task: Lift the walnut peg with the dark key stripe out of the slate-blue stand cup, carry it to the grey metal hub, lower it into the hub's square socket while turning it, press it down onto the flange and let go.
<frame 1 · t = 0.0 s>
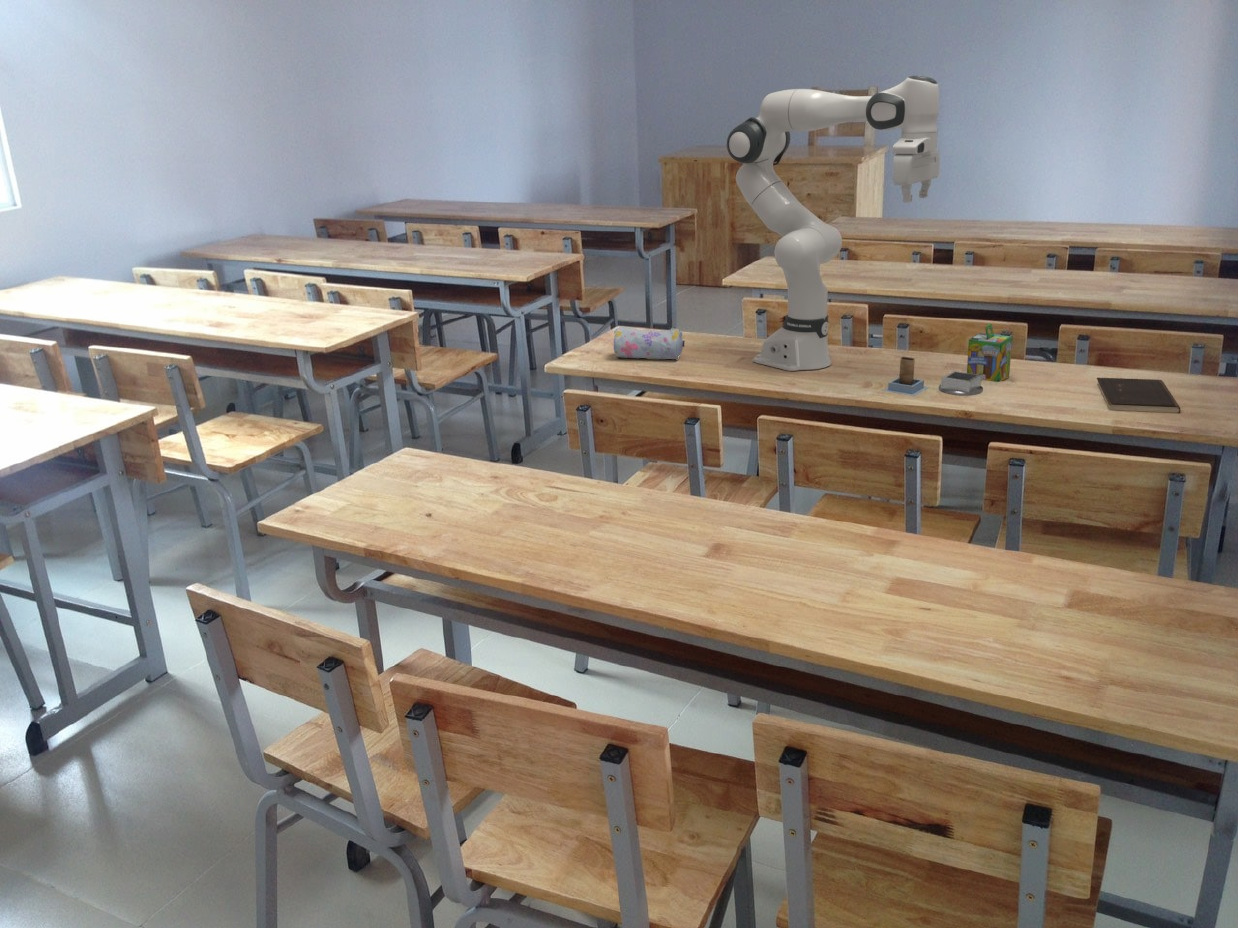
hand: (915, 200, 278), 48 cm above the table, tool pointing down, fingers open, 8 cm apart
stand: (905, 392, 284), on the table
hub: (960, 392, 282), on the table
chalk box: (987, 379, 293), on the table
hardcover book: (1135, 400, 273), on the table
peg: (905, 388, 283), point 1 cm above the table, touching stand
pencil case: (648, 359, 325), on the table
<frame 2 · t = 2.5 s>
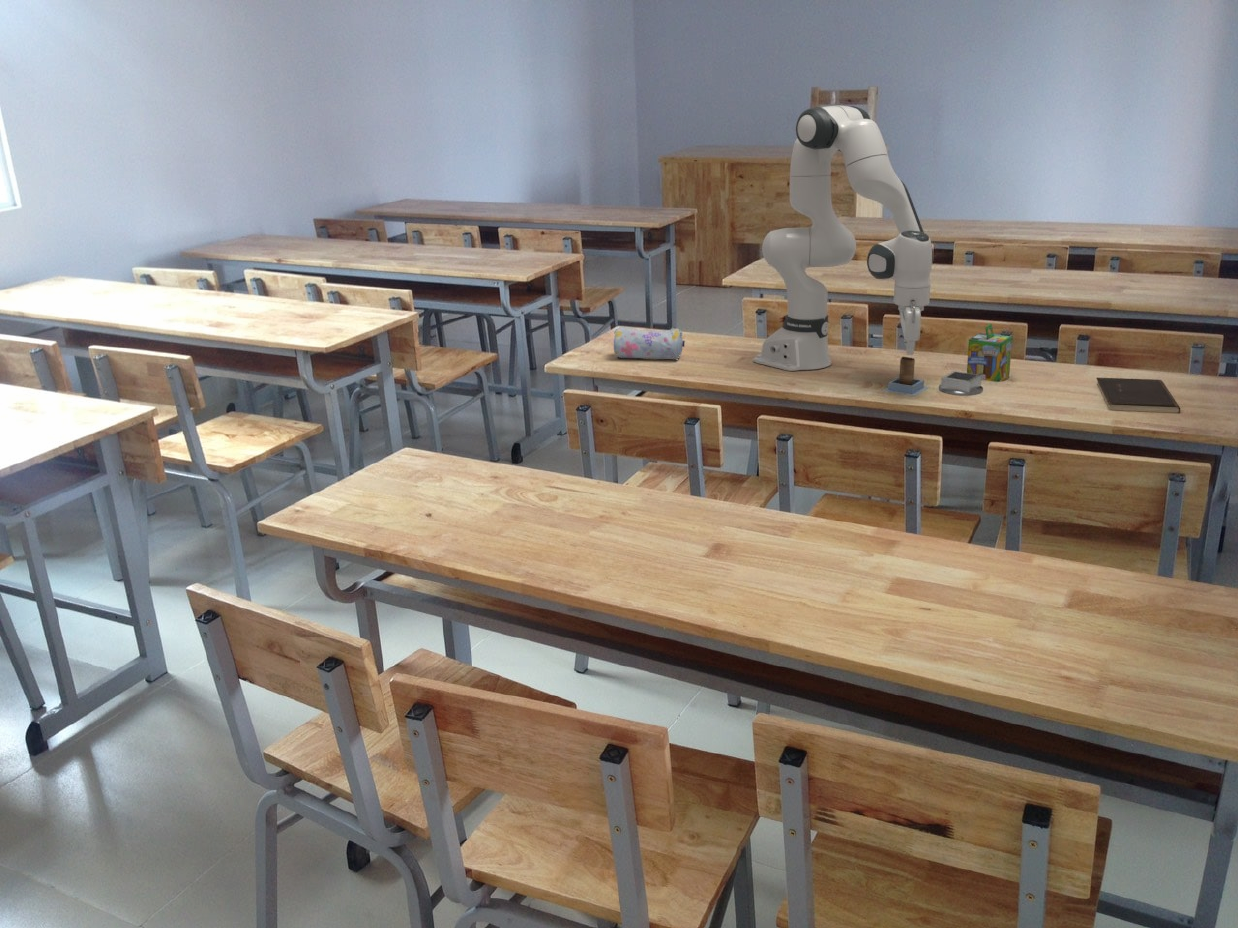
hand: (908, 349, 280), 12 cm above the table, tool pointing down, fingers open, 8 cm apart
nothing on the table moved.
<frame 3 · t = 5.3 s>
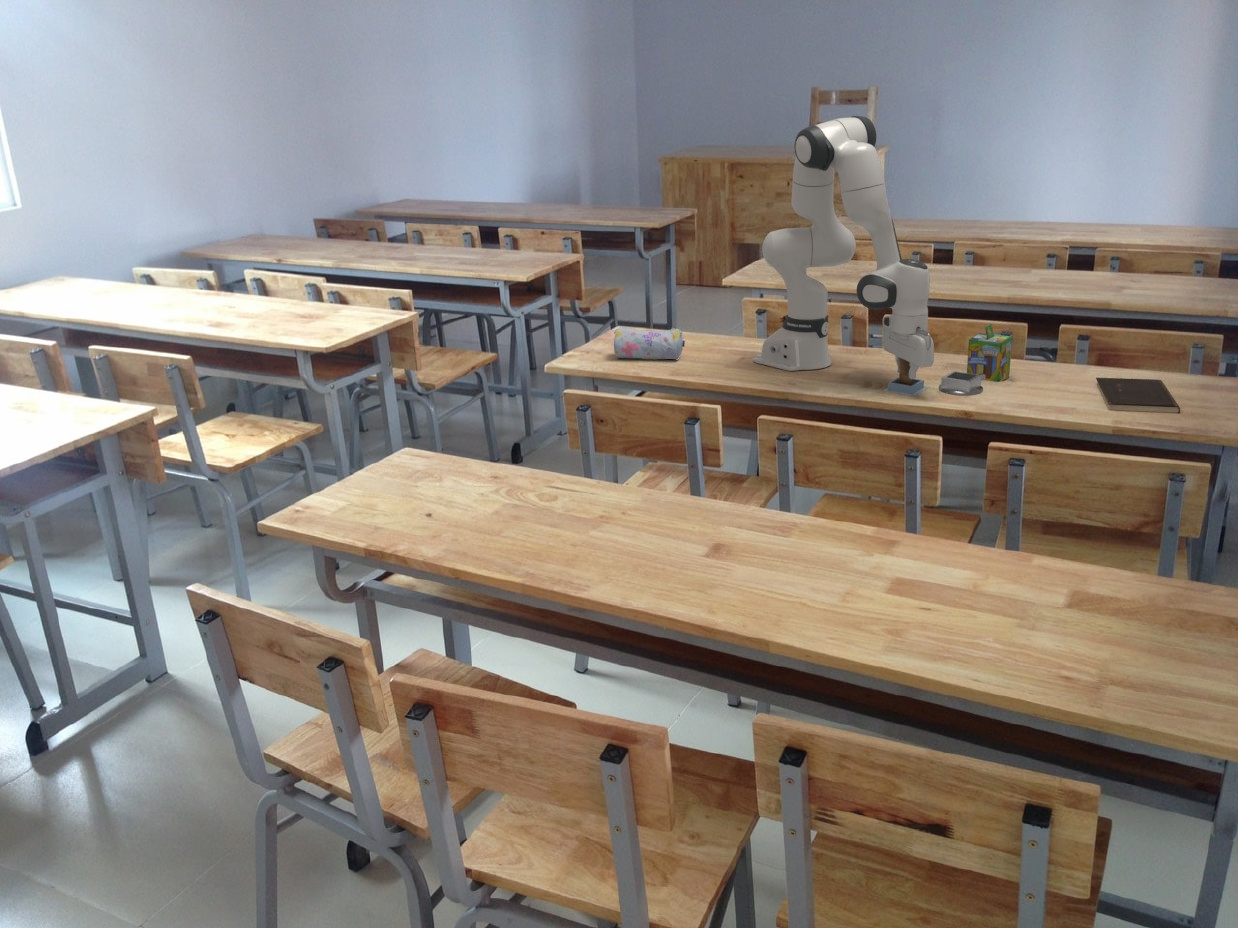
hand: (906, 375, 282), 5 cm above the table, tool pointing down, fingers closed on peg, 4 cm apart
peg: (905, 388, 283), point 1 cm above the table, touching gripper, stand
everything else where it was.
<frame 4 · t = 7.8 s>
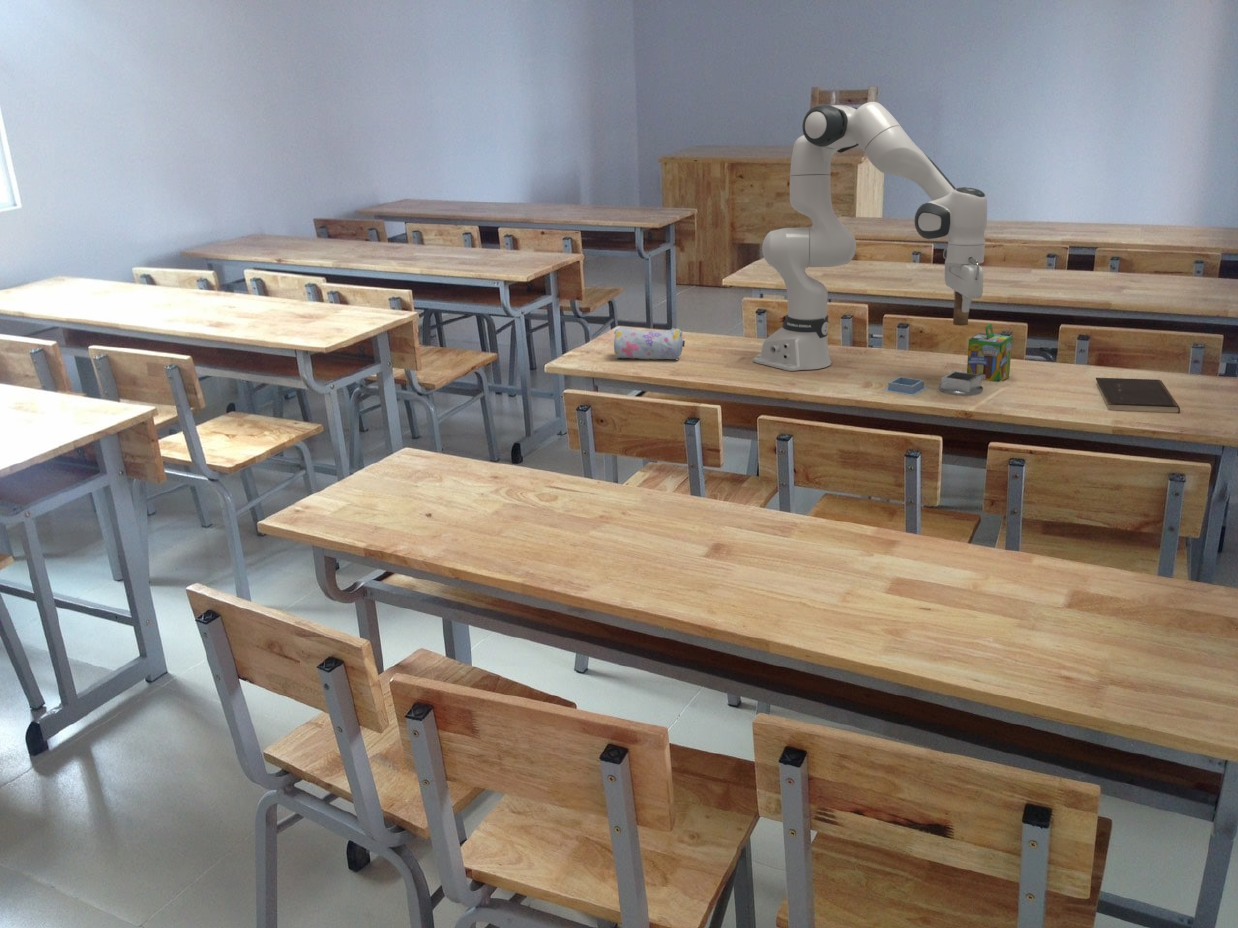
hand: (961, 310, 274), 22 cm above the table, tool pointing down, fingers closed on peg, 4 cm apart
peg: (960, 324, 275), point 18 cm above the table, touching gripper
everything else where it was.
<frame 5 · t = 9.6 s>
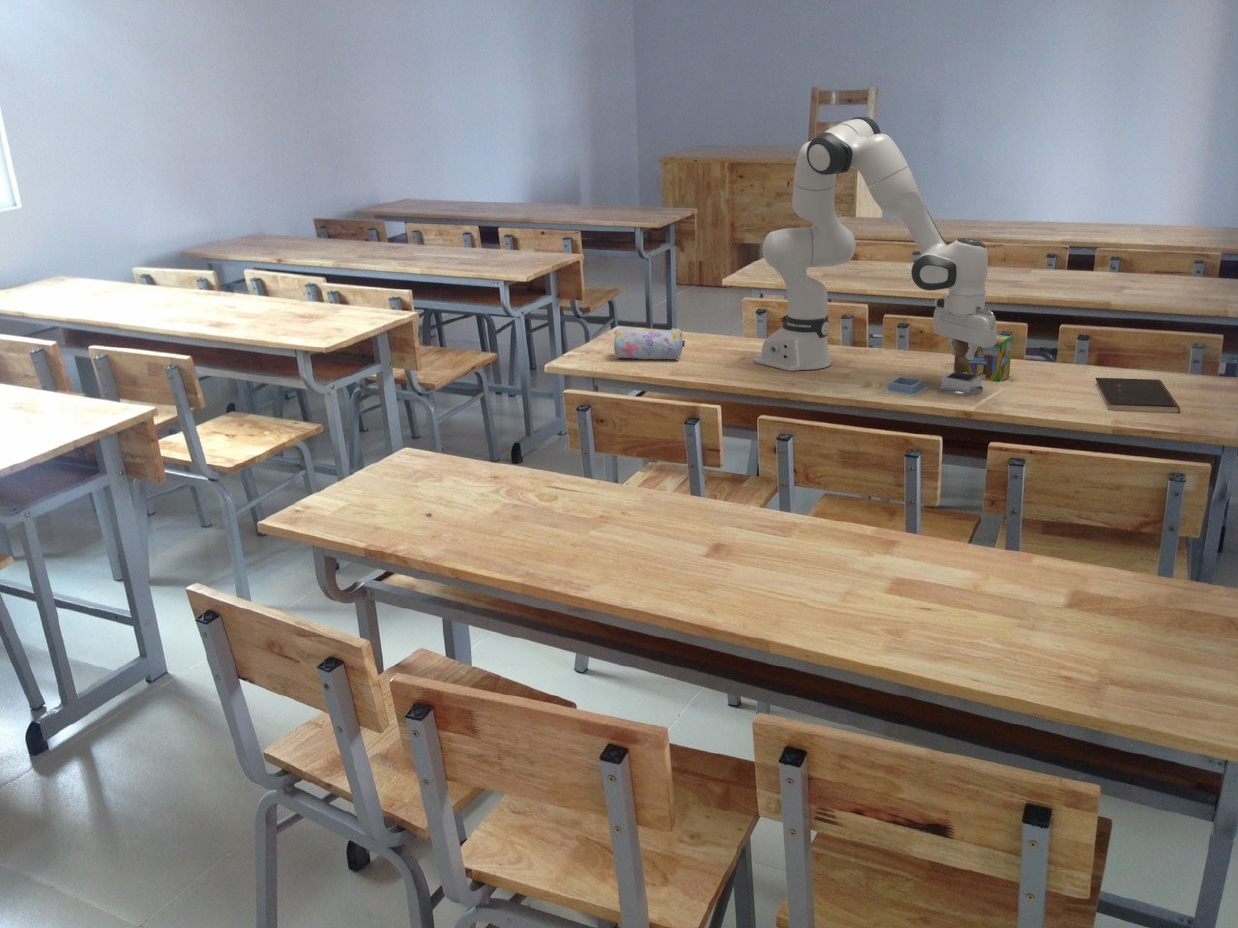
hand: (962, 357, 278), 10 cm above the table, tool pointing down, fingers closed on peg, 4 cm apart
peg: (961, 370, 279), point 6 cm above the table, touching gripper
everything else where it was.
when the fingers open (6 cm above the table, at t = 10.8 s): peg stays where it is, resting on hub.
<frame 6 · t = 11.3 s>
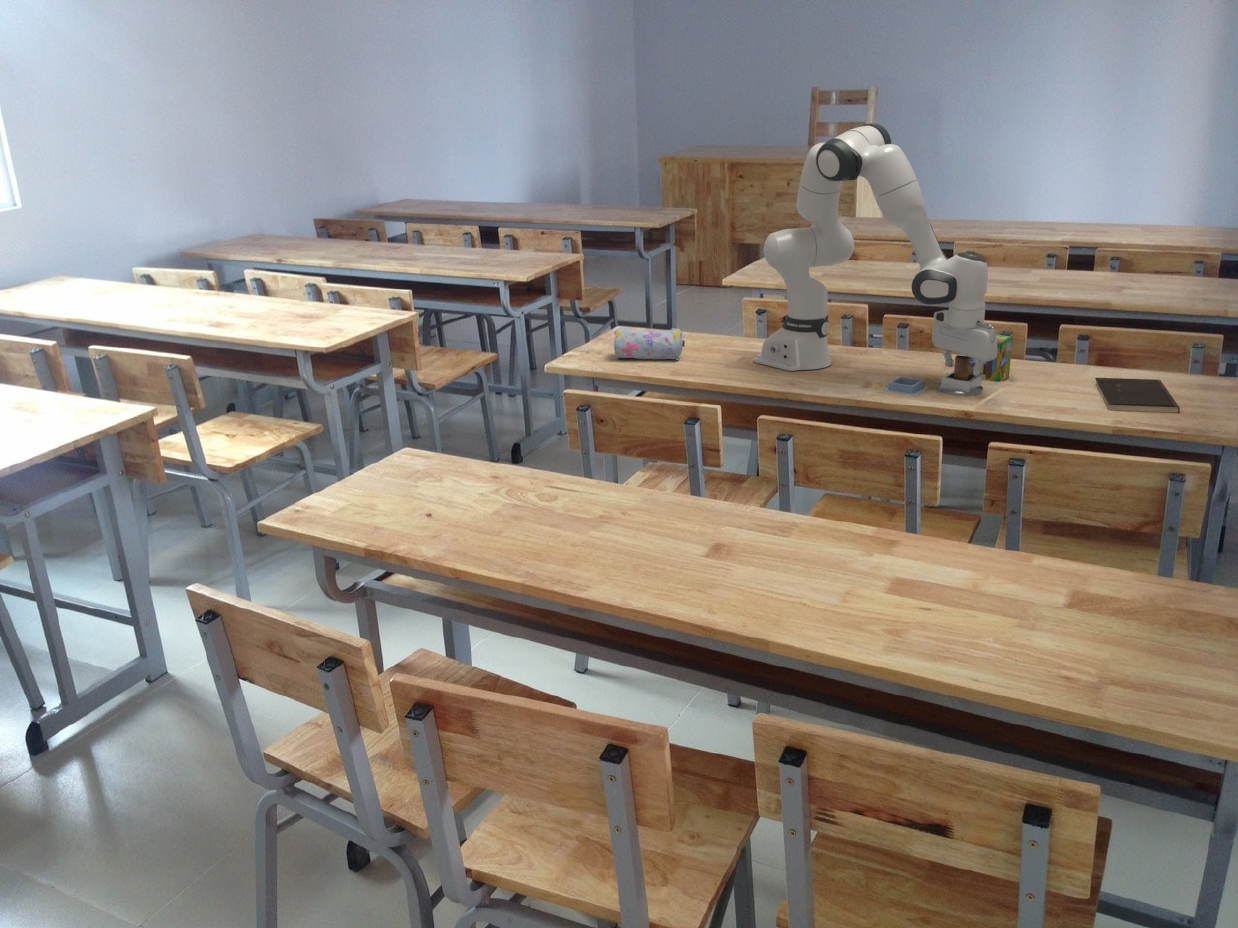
hand: (962, 370, 279), 6 cm above the table, tool pointing down, fingers open, 8 cm apart
peg: (960, 387, 281), point 2 cm above the table, touching hub
everything else where it was.
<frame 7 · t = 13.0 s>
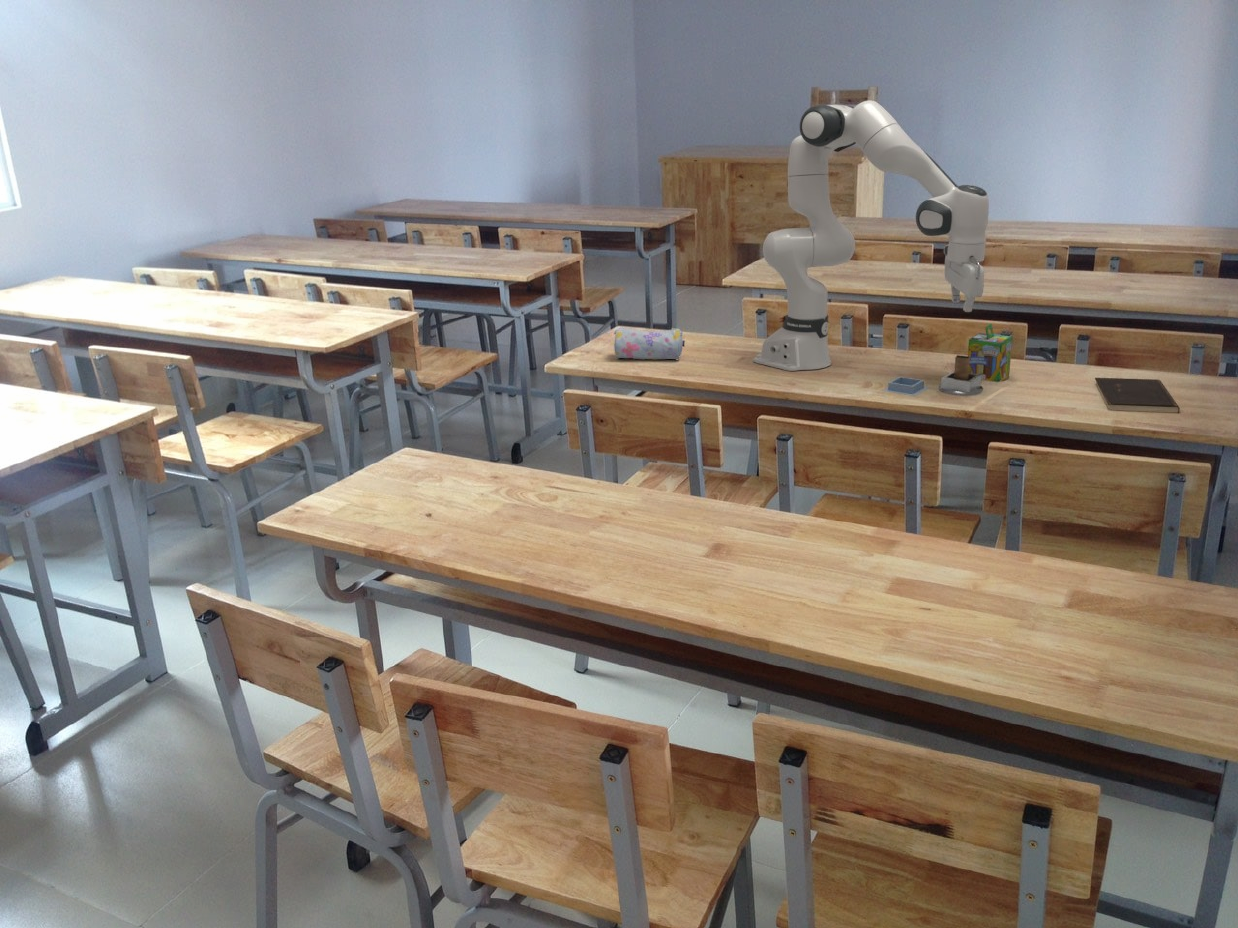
hand: (961, 306, 276), 22 cm above the table, tool pointing down, fingers open, 8 cm apart
nothing on the table moved.
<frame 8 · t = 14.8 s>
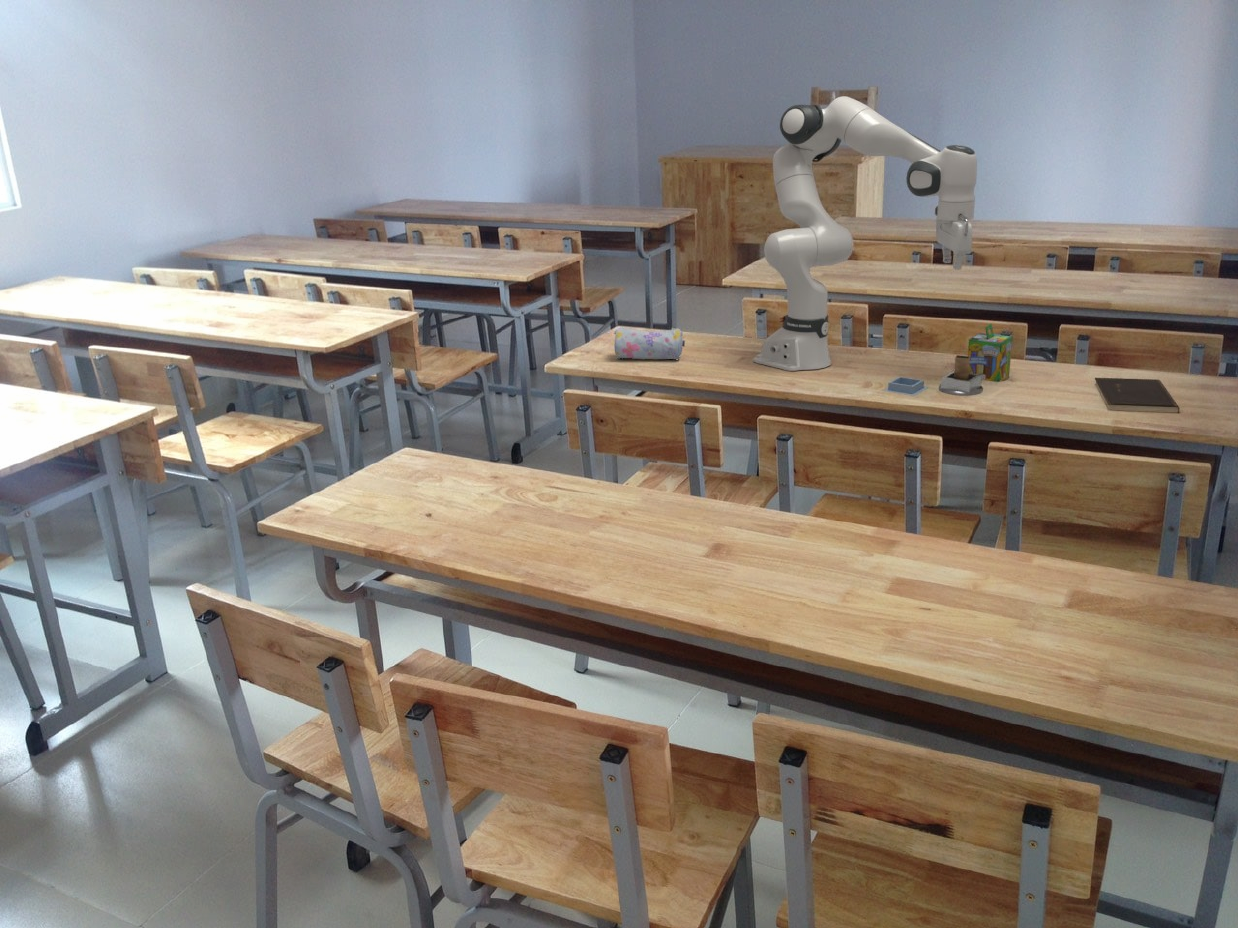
hand: (952, 266, 281), 31 cm above the table, tool pointing down, fingers open, 8 cm apart
nothing on the table moved.
at the end: peg 0.1 cm off-centre on the hub, point 1.5 cm above the hub's base; peg tilted 0°; the gripper is holding nothing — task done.
